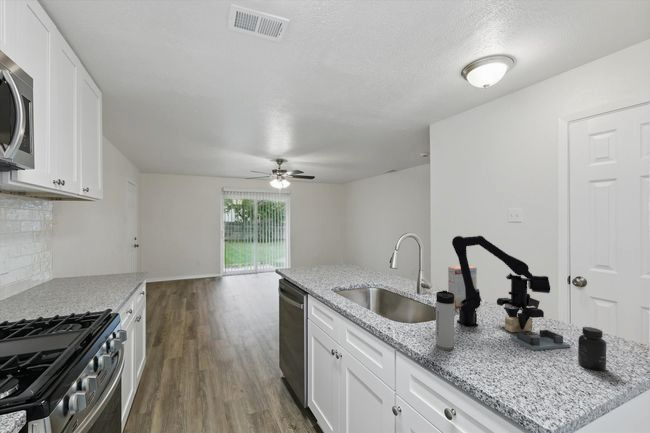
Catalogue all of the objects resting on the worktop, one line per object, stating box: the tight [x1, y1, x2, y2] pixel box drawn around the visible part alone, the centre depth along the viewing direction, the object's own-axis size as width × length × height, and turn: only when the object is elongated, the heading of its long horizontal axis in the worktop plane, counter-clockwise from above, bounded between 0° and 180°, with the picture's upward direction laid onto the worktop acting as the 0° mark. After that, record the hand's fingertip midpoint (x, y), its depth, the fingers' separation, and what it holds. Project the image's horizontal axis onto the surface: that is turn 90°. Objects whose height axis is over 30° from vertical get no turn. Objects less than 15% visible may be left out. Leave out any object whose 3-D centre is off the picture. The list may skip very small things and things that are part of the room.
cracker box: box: [447, 265, 478, 309], centre depth 162 cm, size 14×6×21 cm, turn 106°
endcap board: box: [510, 329, 571, 351], centre depth 114 cm, size 16×10×4 cm, turn 101°
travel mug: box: [435, 290, 455, 351], centre depth 110 cm, size 6×7×20 cm
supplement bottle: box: [577, 326, 608, 372], centre depth 97 cm, size 7×7×12 cm
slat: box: [504, 316, 533, 333], centre depth 127 cm, size 10×4×5 cm, turn 101°
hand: (518, 327), depth 127 cm, fingers closed on slat, 3 cm apart
